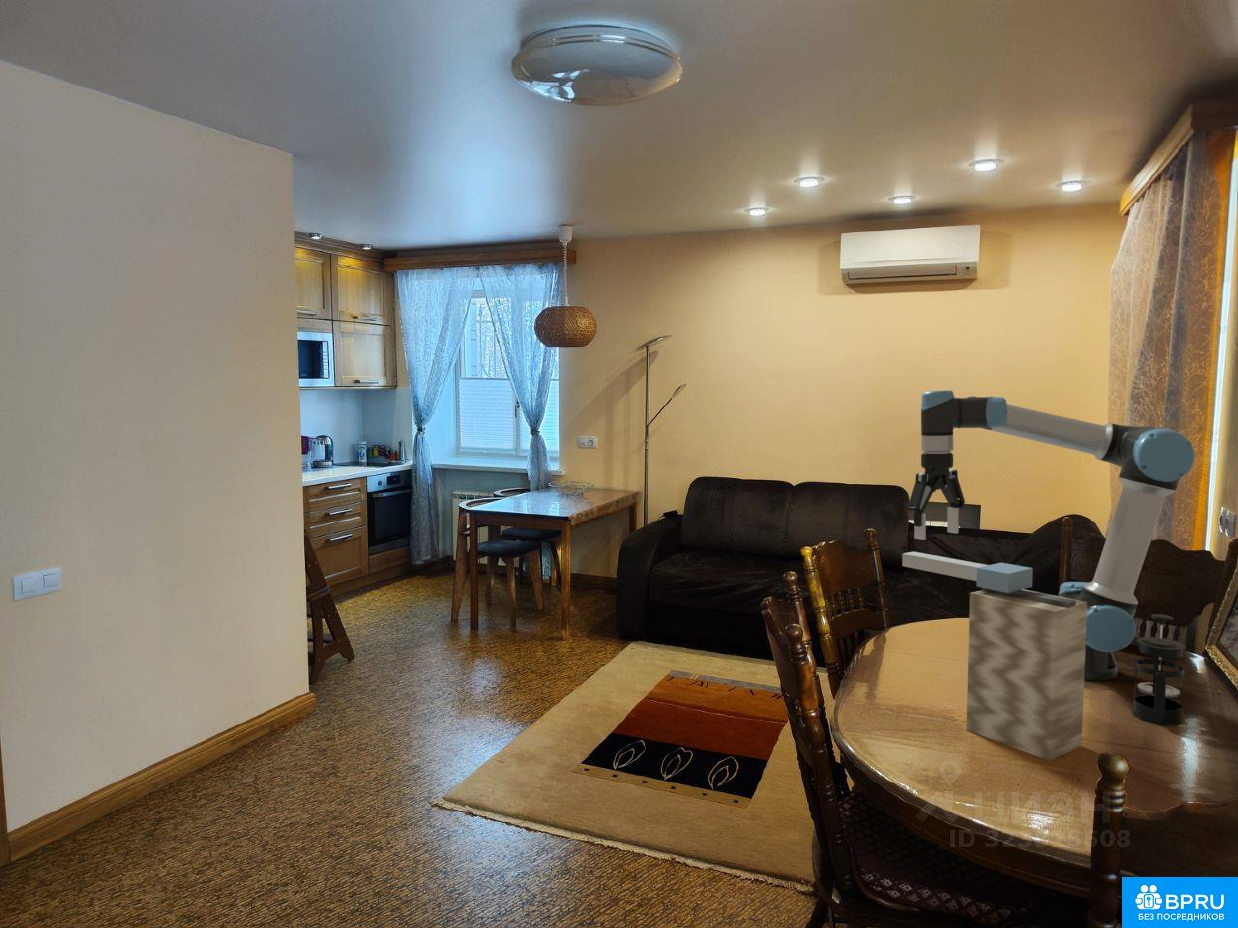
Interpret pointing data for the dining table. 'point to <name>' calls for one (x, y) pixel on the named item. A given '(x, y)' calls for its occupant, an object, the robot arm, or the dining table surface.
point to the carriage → (973, 571)
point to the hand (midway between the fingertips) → (936, 536)
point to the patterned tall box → (1027, 670)
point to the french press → (1159, 680)
